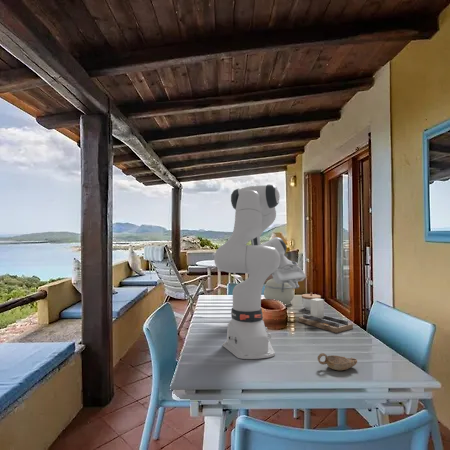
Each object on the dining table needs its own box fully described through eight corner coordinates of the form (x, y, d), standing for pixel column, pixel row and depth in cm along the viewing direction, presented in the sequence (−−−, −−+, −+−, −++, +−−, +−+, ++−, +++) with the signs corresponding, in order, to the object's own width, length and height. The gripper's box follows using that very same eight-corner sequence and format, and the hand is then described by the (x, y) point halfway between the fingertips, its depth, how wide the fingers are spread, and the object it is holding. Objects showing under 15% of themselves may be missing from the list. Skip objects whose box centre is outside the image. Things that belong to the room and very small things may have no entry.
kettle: (298, 307, 201) (298, 264, 201) (267, 307, 200) (267, 264, 200) (287, 298, 226) (288, 260, 226) (260, 298, 225) (260, 260, 225)
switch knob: (310, 317, 168) (310, 299, 168) (317, 316, 171) (317, 298, 171) (317, 319, 165) (317, 300, 165) (323, 317, 168) (323, 299, 168)
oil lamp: (352, 364, 118) (352, 349, 118) (362, 373, 110) (362, 357, 110) (314, 364, 117) (314, 349, 117) (321, 373, 110) (321, 357, 110)
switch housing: (298, 321, 170) (298, 314, 170) (314, 318, 177) (314, 311, 177) (336, 332, 152) (336, 324, 152) (352, 328, 159) (352, 320, 159)
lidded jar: (303, 306, 203) (303, 290, 203) (322, 308, 199) (322, 291, 199) (299, 310, 193) (299, 293, 193) (319, 312, 189) (319, 295, 189)
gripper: (271, 264, 179) (285, 286, 171) (299, 262, 191) (313, 282, 183) (265, 272, 183) (279, 293, 175) (293, 269, 195) (306, 289, 187)
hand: (296, 287), depth 179 cm, fingers closed
